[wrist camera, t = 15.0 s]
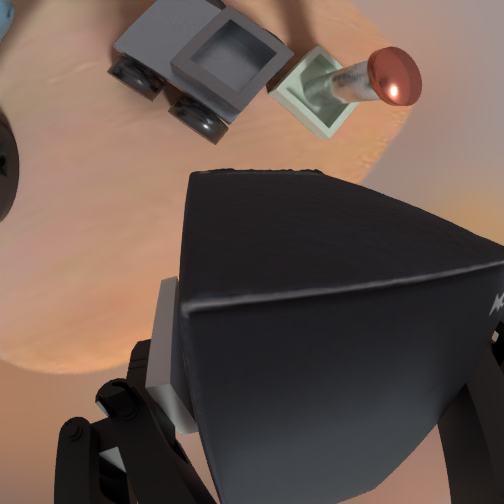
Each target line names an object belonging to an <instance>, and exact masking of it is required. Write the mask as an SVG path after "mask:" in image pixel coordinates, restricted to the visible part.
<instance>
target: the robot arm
mask: <svg viewBox="0 0 504 504" xmlns="http://www.w3.org/2000/svg"><path fill="white" fill-rule="evenodd" d="M14 15H15V10H14V6H13V4H12V2H11V0H0V43H1V41H2V40H3V38H4V36H5V35H6V33H7V31H8V30H9V28H10V27H11V25H12V22H13V20H14ZM18 180H19V159H18V152H17V147H16V144H15V141H14V138H13V136H12V134H11V132H10V130H9V129H8V127H7V126H6V125H5V124H4V123H3V122H1V121H0V222H1V221H2V220H3V219H4V218H5V217H6V216H7V214H8V213H9V211H10V209H11V207H12V205H13V202H14V199H15V196H16V192H17V187H18ZM178 296H179V281H178V279H177V276H175V277H171V278H168V279H164V280H161V285H160V291H159V296H158V302H157V307H156V313H155V319H154V325H153V332H152V338H151V339H148V340H144V341H139V342H137V344H136V345H135V347H134V348H133V350H132V352H131V357H130V363H129V367H128V372H127V377H126V379H123V378H117V379H114V380H110V381H109V382H107V383H105V384H104V385H103V386H102V387H101V388H100V389H99V391H98V393H97V395H96V400H95V403H96V404H97V405H98V406H99V407H100V409H101V410H102V411H103V412H104V413H105V414H106V415H107V416H108V418H105V419H102V420H100V421H97V422H94V423H92V424H90V423H89V422H88V420H86V419H85V418H83V417H74V418H71V419H69V420H68V421H67V422H65V423H64V425H63V426H62V427H61V430H60V433H59V440H58V448H57V457H56V469H55V484H54V504H137V502H138V504H217V503H216V502H215V500H214V499H213V497H212V496H211V494H210V493H209V491H208V490H207V488H206V487H205V485H204V484H203V482H202V481H201V479H200V477H199V476H198V474H197V472H196V471H195V469H194V467H193V466H192V464H191V462H190V460H189V459H188V457H187V455H186V453H185V451H184V450H183V448H182V446H181V444H180V443H179V442H178V440H176V438H175V428H176V429H177V430H178V431H179V433H180V434H181V435H182V434H189V433H195V432H199V431H198V427H197V423H196V418H195V414H194V409H193V404H192V399H191V394H190V389H189V384H188V379H187V375H186V370H185V365H184V359H183V352H182V345H181V340H180V334H179V327H178V306H179V305H178ZM495 331H496V332H497V333H498V334H499V336H498V339H497V341H496V342H495V341H493V340H492V339H490V341H489V343H488V345H487V347H486V349H485V351H484V353H483V355H482V356H481V358H480V360H479V362H478V363H477V365H476V367H475V369H474V370H473V372H472V373H471V375H470V377H469V378H468V380H467V382H466V383H465V385H464V386H463V387H462V389H461V390H460V392H459V394H458V395H457V397H456V398H455V399H454V401H453V402H452V404H451V405H450V407H449V408H448V409H447V411H446V412H445V414H444V415H443V416H442V417H441V419H440V420H439V421H438V423H437V424H438V429H439V433H440V438H441V442H442V447H443V451H444V457H445V462H446V468H447V474H448V480H449V488H450V495H451V504H504V311H503V314H502V316H501V319H500V321H499V323H498V325H497V327H496V329H495ZM492 336H493V335H492ZM491 338H492V337H491Z"/></svg>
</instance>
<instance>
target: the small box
mask: <svg viewBox="0 0 504 504" xmlns="http://www.w3.org/2000/svg"><path fill="white" fill-rule="evenodd" d="M178 305H179V306H178V327H179V334H180V340H181V345H182V352H183V359H184V365H185V370H186V375H187V379H188V384H189V389H190V394H191V399H192V404H193V409H194V414H195V418H196V423H197V427H198V431H199V435H200V439H201V442H202V446H203V450H204V453H205V456H206V460H207V464H208V467H209V470H210V473H211V477H212V480H213V483H214V486H215V489H216V492H217V495H218V498H219V501H220V503H221V504H336V503H339V502H342V501H345V500H348V499H351V498H353V497H356V496H358V495H361V494H363V493H366V492H368V491H371V490H373V489H375V488H376V487H377V486H378V485H379V484H380V483H382V482H383V481H384V480H385V479H386V478H387V477H388V476H389V475H390V474H391V473H392V472H393V471H394V470H395V469H396V468H397V467H398V466H399V465H400V464H401V463H402V462H403V461H404V460H405V459H406V458H407V457H408V456H409V455H410V454H411V453H412V452H413V451H414V450H415V448H416V447H417V446H418V445H419V444H420V443H421V442H422V441H423V440H424V438H425V437H426V436H427V435H428V434H429V432H430V431H431V430H432V429H433V428H434V426H435V425H436V424H437V423H438V421H439V420H440V419H441V417H442V416H443V415H444V414H445V412H446V411H447V409H448V408H449V407H450V405H451V404H452V402H453V401H454V399H455V398H456V397H457V395H458V394H459V392H460V390H461V389H462V387H463V386H464V385H465V383H466V382H467V380H468V378H469V377H470V375H471V373H472V372H473V370H474V369H475V367H476V365H477V363H478V362H479V360H480V358H481V356H482V355H483V353H484V351H485V349H486V347H487V345H488V343H489V341H490V339H491V337H492V335H493V333H494V331H495V329H496V327H497V325H498V323H499V321H500V319H501V316H502V314H503V311H504V246H502V245H500V244H498V243H495V242H493V241H491V240H489V239H486V238H483V237H481V236H478V235H476V234H474V233H472V232H470V231H468V230H466V229H464V228H462V227H459V226H458V225H456V224H453V223H452V222H449V221H447V220H445V219H442V218H440V217H438V216H436V215H434V214H431V213H429V212H427V211H424V210H422V209H420V208H418V207H414V206H412V205H410V204H407V203H405V202H402V201H400V200H397V199H394V198H392V197H389V196H386V195H384V194H381V193H379V192H376V191H374V190H371V189H368V188H365V187H363V186H360V185H356V184H353V183H350V182H347V181H343V180H341V179H337V178H334V177H331V176H328V175H325V174H324V173H322V172H321V171H319V170H317V169H315V170H310V169H306V170H300V171H293V170H292V169H288V170H284V169H282V170H274V171H273V170H253V169H249V170H234V169H232V168H228V169H215V170H208V171H196V172H192V173H191V174H190V177H189V183H188V189H187V194H186V202H185V211H184V222H183V232H182V243H181V256H180V272H179V296H178Z"/></svg>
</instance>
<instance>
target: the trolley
mask: <svg viewBox="0 0 504 504" xmlns="http://www.w3.org/2000/svg"><path fill="white" fill-rule="evenodd" d="M113 47H114V48H115V49H116V50H117V51H118V52H120V53H122V54H123V55H125V56H127V57H129V58H130V59H129V58H127V57H125V56H122V55H120V56H119V57H118V58H117V60H116V61H115V62H114V63H113V65H112V66H111V67H110V68H109V70H108V71H107V72H108V73H109V74H110V75H111V76H113V77H114V78H116V79H117V80H119V81H120V82H122V83H123V84H125V85H126V86H128V87H129V88H131V89H132V90H134V91H136V92H137V93H139V94H140V95H142V96H144V97H145V98H147V99H149V100H150V101H153V100H154V99H155V97H156V96H157V95H158V94H159V92H160V91H161V90H162V89H163V87H164V86H165V84H164V83H163V82H162V81H161V80H160V79H159V78H158V77H156V76H155V75H154V74H153V73H155V74H156V75H158V76H160V77H161V78H163V79H164V80H166V81H167V82H169V83H170V84H172V85H173V86H175V87H176V88H178V89H179V90H181V91H182V92H184V93H185V94H187V95H188V96H190V97H191V98H193V99H194V100H195V101H194V100H192V99H191V98H189V97H187V96H185V95H180V96H179V97H178V99H177V100H176V101H175V102H174V104H173V105H172V106H171V107H170V109H169V110H168V112H169V113H170V114H172V115H173V116H174V117H175V118H177V119H178V120H179V121H181V122H182V123H184V124H185V125H186V126H188V127H189V128H191V129H192V130H193V131H195V132H196V133H198V134H199V135H201V136H202V137H204V138H205V139H206V140H208V141H210V142H211V143H213V144H214V145H216V144H217V143H218V142H219V140H220V139H221V138H222V137H223V135H224V134H225V133H226V132H227V131H228V127H227V126H226V125H225V124H224V123H223V122H222V121H221V120H220V119H222V120H223V121H224V122H226V123H227V124H228V125H229V124H231V123H232V122H233V121H234V120H235V118H236V117H237V116H238V115H239V114H240V112H242V110H243V109H244V108H245V107H246V106H247V105H248V104H249V102H250V101H251V100H252V99H253V98H254V97H255V96H256V94H257V93H258V92H259V91H260V90H261V89H262V88H263V87H264V86H265V84H266V83H267V82H268V81H269V80H270V79H271V78H272V77H273V76H274V75H276V74H278V73H279V71H280V70H281V69H282V68H283V67H284V66H285V65H286V64H287V63H288V62H289V61H290V59H291V57H292V56H293V55H294V54H295V53H294V52H292V51H291V50H290V49H289V48H288V47H286V46H285V44H284V43H283V42H282V41H281V40H280V39H279V38H278V37H276V36H275V35H274V34H272V33H271V32H269V31H268V30H266V29H264V28H262V27H260V26H259V25H257V24H256V23H255V22H253V21H252V20H250V19H249V18H247V17H246V16H244V15H243V14H241V13H240V12H238V11H237V10H235V9H234V8H232V7H231V6H229V5H228V6H227V7H226V6H225V4H224V3H223V2H222V1H221V0H157V1H156V2H155V3H154V4H152V5H151V6H150V7H149V8H148V9H147V10H146V11H145V12H144V13H143V14H142V15H141V16H140V17H139V18H138V19H137V20H136V21H135V22H134V23H133V24H132V25H131V26H130V27H129V28H128V29H127V30H126V31H125V32H124V34H123V35H122V36H121V37H120V38H119V39H118V40H117V41H116V43H115V44H114V45H113ZM131 59H132V60H131ZM133 60H134V61H133ZM136 62H137V63H136ZM138 63H139V64H138ZM149 70H150V71H152V72H153V73H151V72H150V71H149ZM196 101H197V102H198V103H197V102H196ZM199 103H200V104H201V105H200V104H199ZM202 105H203V106H202ZM213 113H214V114H215V115H216V116H215V115H214V114H213ZM217 116H218V117H219V118H220V119H219V118H218V117H217Z"/></svg>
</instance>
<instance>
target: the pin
mask: <svg viewBox="0 0 504 504" xmlns="http://www.w3.org/2000/svg"><path fill="white" fill-rule="evenodd" d="M421 90H422V80H421V75H420V72H419V69H418V67H417V65H416V64H415V62H414V60H413V59H412V58H411V57H410V56H409V55H408V54H407V53H406V52H405V51H403V50H401V49H399V48H397V47H387V48H383V49H380V50H377V51H375V52H373V53H372V54H371V56H370V57H369V60H368V61H364V62H361V63H358V64H354V65H351V66H348V67H345V68H342V69H339V70H336V71H333V72H330V73H327V74H324V75H322V76H319V77H316V78H313V79H311V80H309V81H308V82H307V83H306V84H305V86H304V96H305V98H306V100H307V101H308V102H309V103H310V104H311V105H313V106H315V107H324V106H331V105H338V104H345V103H353V102H362V101H372V100H383V101H384V102H385V103H387V104H389V105H393V106H409V105H412V104H414V103H415V102H416V101H417V100H418V99H419V97H420V94H421Z"/></svg>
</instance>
